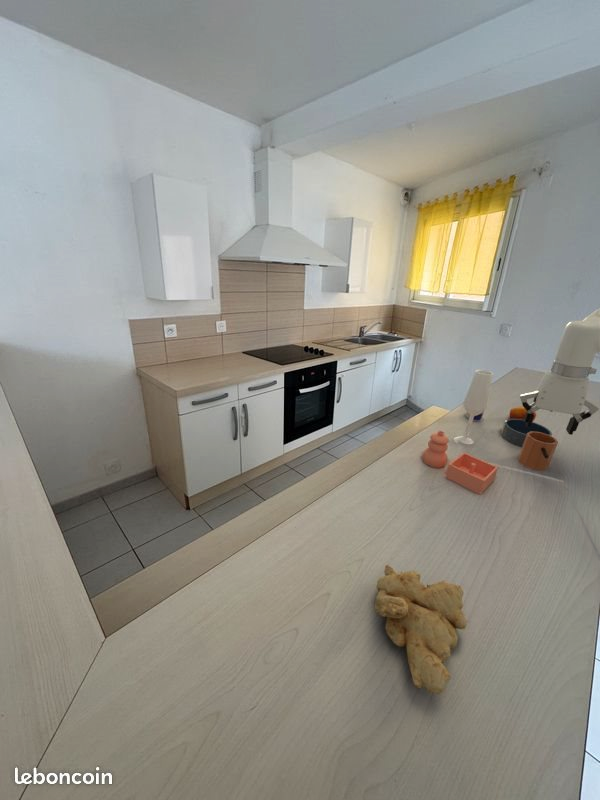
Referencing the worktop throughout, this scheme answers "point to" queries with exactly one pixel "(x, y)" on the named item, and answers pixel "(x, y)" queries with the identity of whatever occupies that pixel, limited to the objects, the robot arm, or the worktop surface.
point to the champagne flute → (476, 400)
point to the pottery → (459, 465)
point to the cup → (537, 450)
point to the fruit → (519, 413)
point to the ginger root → (421, 623)
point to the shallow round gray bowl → (520, 431)
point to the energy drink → (475, 417)
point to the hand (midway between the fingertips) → (547, 428)
